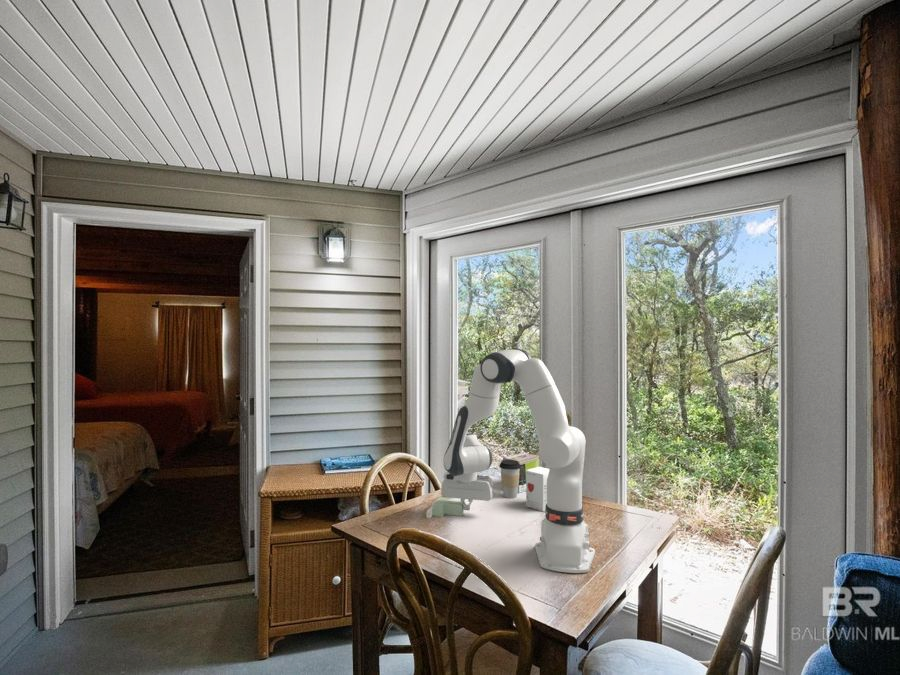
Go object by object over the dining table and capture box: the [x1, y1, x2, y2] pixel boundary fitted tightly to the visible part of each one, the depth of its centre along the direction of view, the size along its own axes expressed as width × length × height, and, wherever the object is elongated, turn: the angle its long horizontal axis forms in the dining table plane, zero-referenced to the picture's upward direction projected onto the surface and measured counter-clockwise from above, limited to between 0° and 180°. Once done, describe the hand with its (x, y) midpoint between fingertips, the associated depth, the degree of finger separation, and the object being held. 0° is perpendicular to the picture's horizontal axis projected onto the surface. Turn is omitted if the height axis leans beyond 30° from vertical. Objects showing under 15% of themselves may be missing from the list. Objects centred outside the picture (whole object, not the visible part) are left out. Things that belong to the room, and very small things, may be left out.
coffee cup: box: [498, 459, 521, 499], centre depth 204 cm, size 9×9×15 cm
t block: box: [431, 497, 465, 518], centre depth 184 cm, size 10×11×4 cm
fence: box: [426, 497, 461, 519], centre depth 185 cm, size 16×12×2 cm
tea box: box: [502, 452, 540, 494], centre depth 217 cm, size 15×10×15 cm
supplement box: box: [525, 466, 550, 512], centre depth 191 cm, size 9×9×15 cm
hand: (466, 509), depth 183 cm, fingers closed
